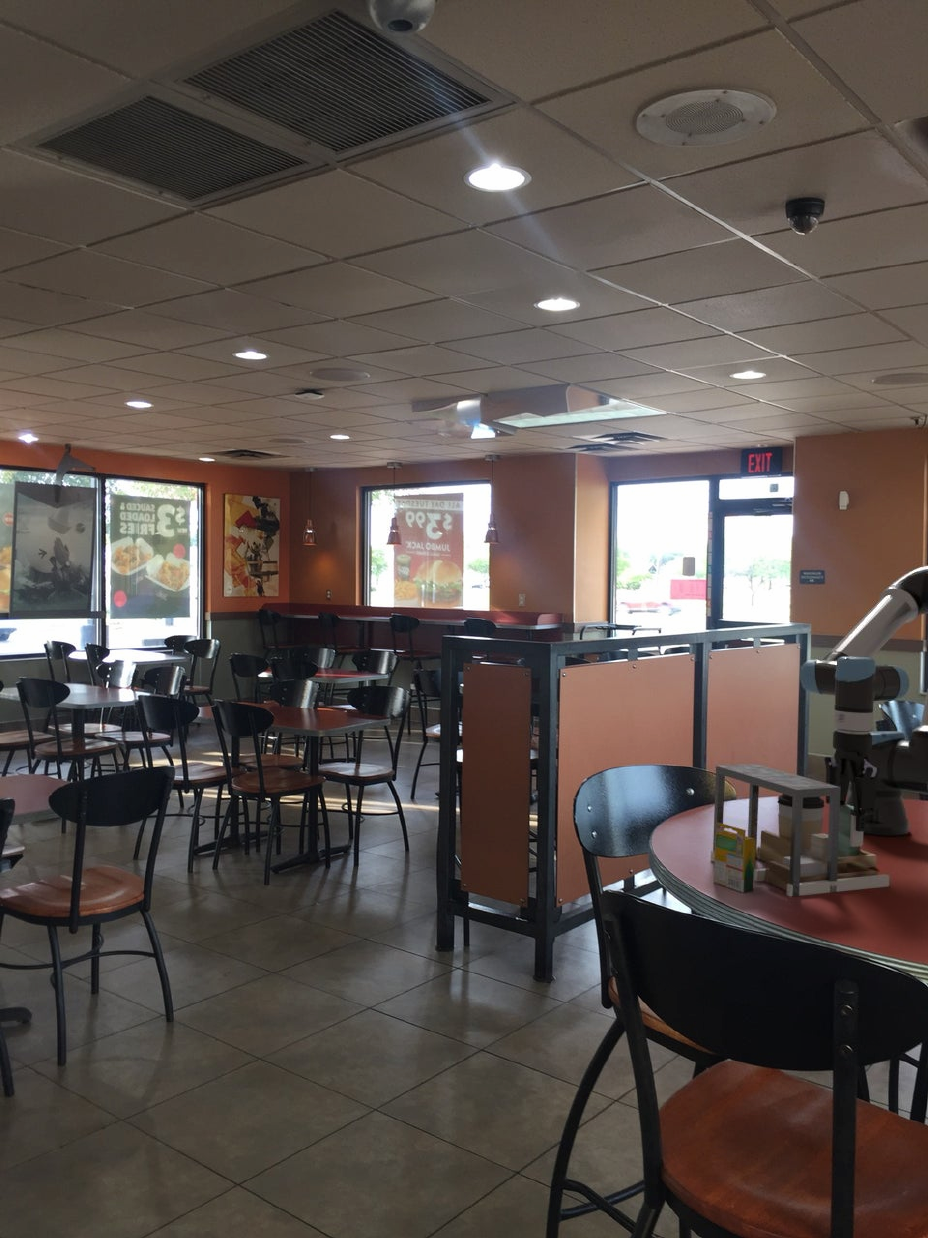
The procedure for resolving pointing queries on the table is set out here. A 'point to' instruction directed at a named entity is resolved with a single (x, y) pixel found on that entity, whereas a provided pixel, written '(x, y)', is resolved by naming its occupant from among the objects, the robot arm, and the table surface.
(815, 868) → the grey block
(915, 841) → the table surface
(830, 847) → the shelf
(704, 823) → the table surface
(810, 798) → the coffee cup
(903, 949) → the table surface
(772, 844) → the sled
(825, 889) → the lane rails
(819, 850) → the sled
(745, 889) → the crayon box
